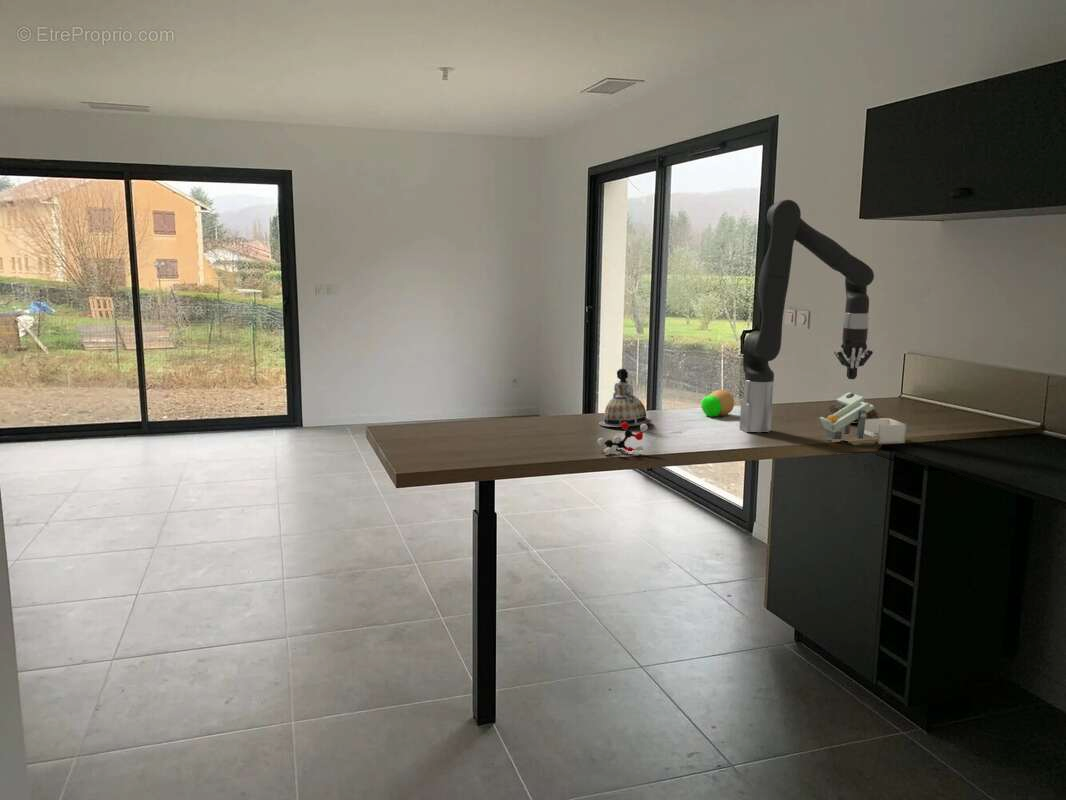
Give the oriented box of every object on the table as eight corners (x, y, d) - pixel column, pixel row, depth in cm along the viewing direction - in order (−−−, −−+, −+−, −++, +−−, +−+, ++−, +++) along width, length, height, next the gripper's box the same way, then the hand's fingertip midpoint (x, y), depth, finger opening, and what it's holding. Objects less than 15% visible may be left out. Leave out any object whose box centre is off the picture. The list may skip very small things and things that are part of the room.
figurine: (590, 422, 278) (592, 365, 276) (637, 420, 284) (639, 365, 282) (611, 431, 261) (614, 371, 258) (661, 429, 267) (664, 371, 264)
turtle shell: (850, 412, 269) (822, 390, 287) (846, 436, 272) (818, 413, 290) (894, 409, 271) (863, 388, 289) (889, 433, 274) (859, 411, 293)
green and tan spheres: (737, 386, 285) (713, 395, 279) (741, 412, 286) (718, 421, 280) (714, 386, 295) (691, 395, 289) (719, 411, 296) (696, 420, 290)
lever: (834, 432, 247) (829, 422, 246) (807, 420, 264) (802, 410, 263) (879, 404, 248) (875, 394, 247) (849, 394, 265) (845, 384, 264)
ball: (830, 426, 248) (830, 416, 248) (824, 423, 251) (825, 414, 251) (839, 425, 249) (840, 415, 248) (834, 423, 252) (834, 413, 251)
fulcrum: (840, 446, 245) (843, 413, 243) (819, 436, 257) (821, 404, 255) (874, 444, 247) (877, 412, 245) (851, 435, 259) (854, 403, 257)
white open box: (878, 444, 248) (880, 425, 247) (861, 437, 257) (863, 419, 256) (904, 443, 249) (906, 424, 248) (887, 436, 258) (889, 418, 257)
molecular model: (612, 469, 232) (599, 440, 229) (604, 460, 240) (592, 432, 237) (658, 446, 233) (646, 417, 230) (649, 438, 241) (637, 410, 238)
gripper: (843, 328, 252) (839, 381, 256) (880, 327, 254) (876, 380, 258) (830, 325, 260) (826, 377, 263) (867, 325, 262) (863, 376, 265)
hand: (851, 378), depth 260 cm, fingers closed
